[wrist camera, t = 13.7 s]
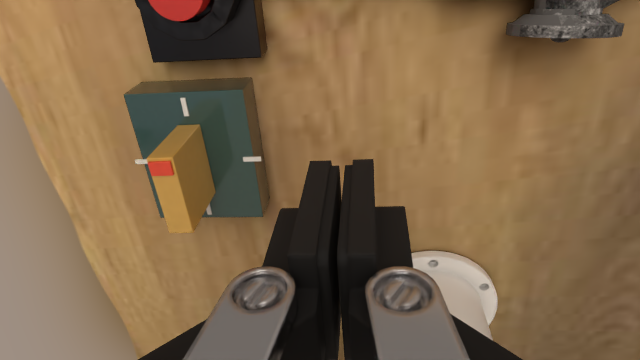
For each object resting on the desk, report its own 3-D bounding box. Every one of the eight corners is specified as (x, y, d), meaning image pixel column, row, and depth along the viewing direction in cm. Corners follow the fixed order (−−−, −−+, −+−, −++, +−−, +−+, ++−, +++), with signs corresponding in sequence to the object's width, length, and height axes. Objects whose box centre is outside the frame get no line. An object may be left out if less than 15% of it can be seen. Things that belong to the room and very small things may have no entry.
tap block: (276, 197, 39) (269, 218, 36) (167, 199, 40) (152, 219, 38) (259, 76, 34) (250, 90, 31) (133, 82, 35) (114, 95, 32)
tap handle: (216, 192, 36) (192, 235, 31) (194, 192, 36) (167, 235, 31) (200, 124, 33) (170, 159, 28) (177, 125, 33) (144, 160, 28)
